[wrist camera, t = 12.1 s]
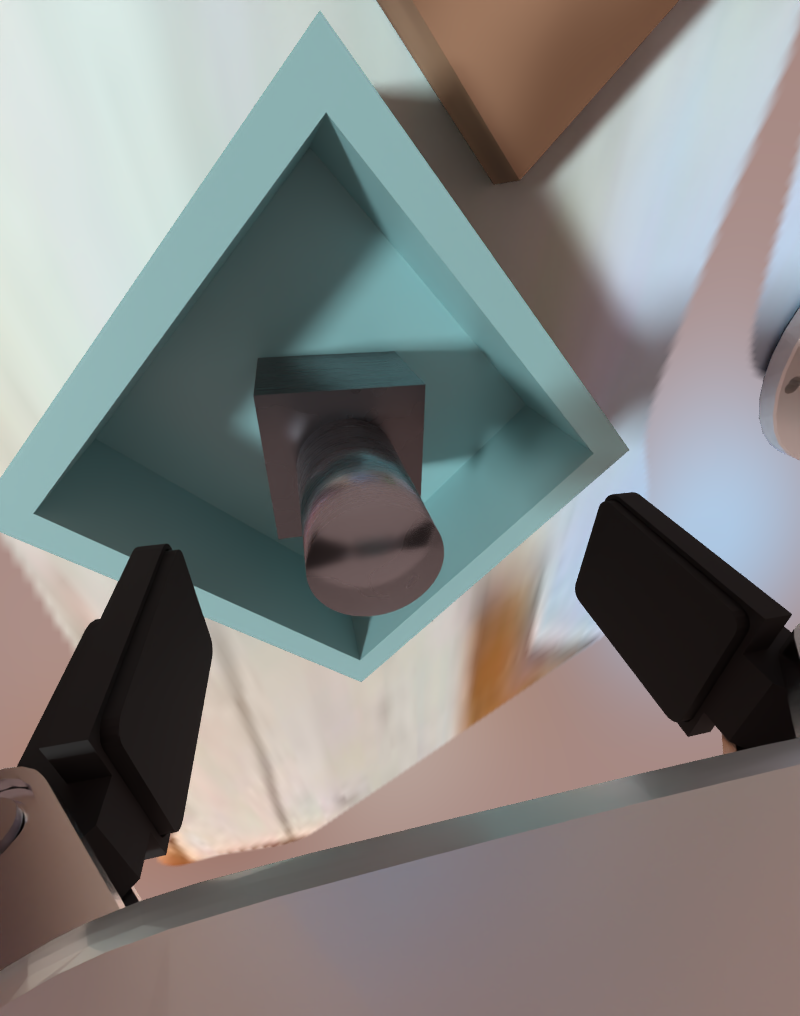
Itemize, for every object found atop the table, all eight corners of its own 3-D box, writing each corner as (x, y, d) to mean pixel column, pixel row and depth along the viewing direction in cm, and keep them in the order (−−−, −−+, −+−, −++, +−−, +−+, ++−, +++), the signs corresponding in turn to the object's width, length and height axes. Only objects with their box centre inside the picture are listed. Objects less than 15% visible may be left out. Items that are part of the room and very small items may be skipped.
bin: (543, 395, 20) (629, 449, 15) (343, 587, 24) (361, 681, 19) (302, 90, 13) (319, 10, 8) (61, 431, 16) (-29, 520, 12)
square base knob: (394, 350, 17) (492, 456, 9) (394, 468, 19) (469, 623, 12) (257, 357, 16) (243, 482, 8) (277, 480, 18) (279, 658, 11)
